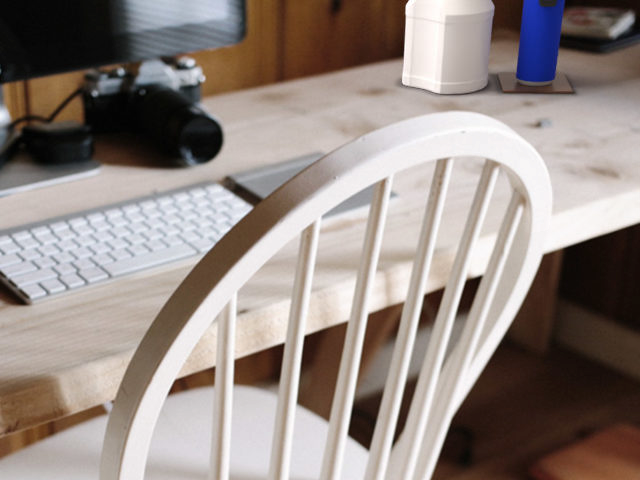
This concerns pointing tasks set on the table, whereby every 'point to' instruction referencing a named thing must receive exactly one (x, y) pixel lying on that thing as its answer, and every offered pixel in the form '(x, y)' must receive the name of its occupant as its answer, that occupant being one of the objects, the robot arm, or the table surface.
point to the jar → (447, 45)
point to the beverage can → (539, 43)
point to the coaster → (513, 86)
